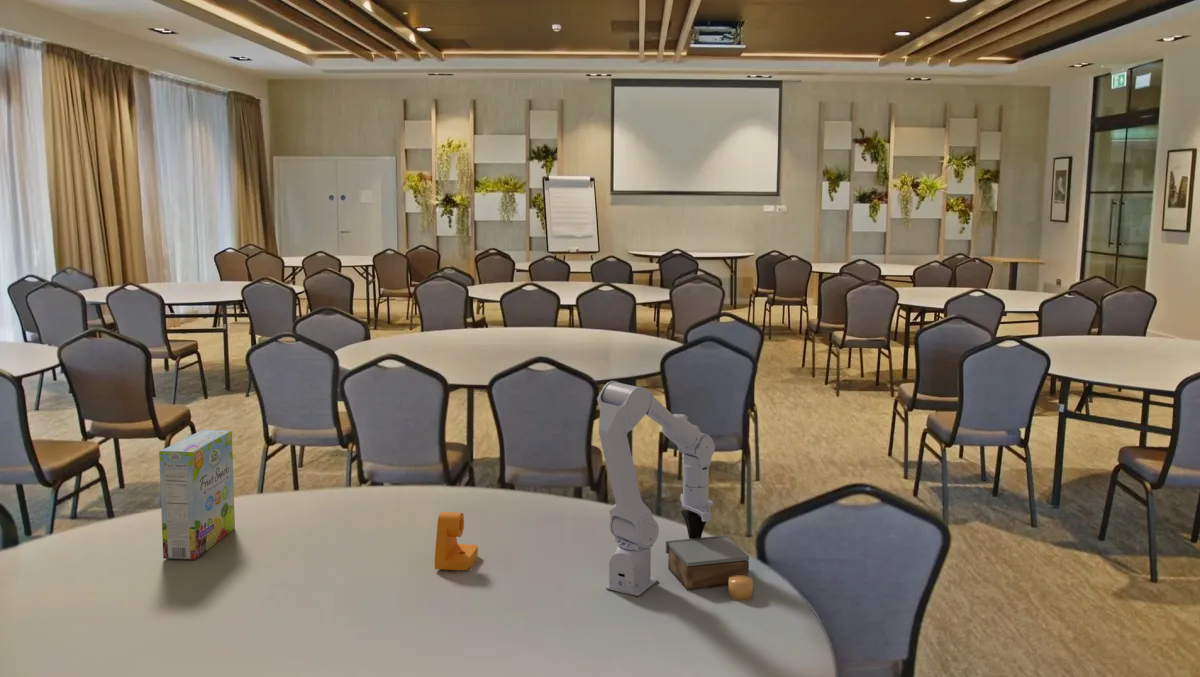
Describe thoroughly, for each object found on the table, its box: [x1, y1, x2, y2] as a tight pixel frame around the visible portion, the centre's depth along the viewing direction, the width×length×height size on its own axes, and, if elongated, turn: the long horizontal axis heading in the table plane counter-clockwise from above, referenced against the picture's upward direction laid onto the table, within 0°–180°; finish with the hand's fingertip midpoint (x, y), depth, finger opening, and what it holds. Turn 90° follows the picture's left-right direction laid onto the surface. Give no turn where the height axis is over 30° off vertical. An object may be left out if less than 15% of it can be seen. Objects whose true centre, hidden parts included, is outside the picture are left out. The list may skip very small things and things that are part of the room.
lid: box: [665, 534, 750, 566], centre depth 201 cm, size 13×15×3 cm
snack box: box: [158, 429, 236, 561], centre depth 218 cm, size 22×9×26 cm, turn 179°
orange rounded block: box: [727, 575, 754, 602], centre depth 190 cm, size 5×5×4 cm
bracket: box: [434, 511, 479, 571], centre depth 207 cm, size 11×7×12 cm, turn 173°
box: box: [667, 547, 750, 591], centre depth 200 cm, size 12×14×5 cm
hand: (694, 541), depth 208 cm, fingers closed
